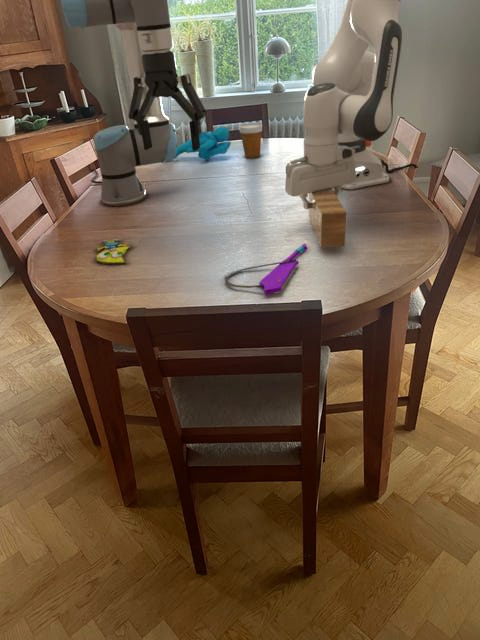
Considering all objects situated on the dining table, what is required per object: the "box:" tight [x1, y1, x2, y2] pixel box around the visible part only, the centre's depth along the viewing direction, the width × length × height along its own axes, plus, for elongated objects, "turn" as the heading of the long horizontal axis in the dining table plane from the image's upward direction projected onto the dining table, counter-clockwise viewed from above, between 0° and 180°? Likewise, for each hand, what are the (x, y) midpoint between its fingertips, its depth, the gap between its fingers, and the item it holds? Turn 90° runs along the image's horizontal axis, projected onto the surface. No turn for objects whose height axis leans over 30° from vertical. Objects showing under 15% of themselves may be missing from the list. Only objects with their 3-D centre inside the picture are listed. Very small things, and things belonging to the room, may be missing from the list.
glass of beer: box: [239, 123, 263, 159], centre depth 199 cm, size 10×10×12 cm
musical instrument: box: [224, 243, 308, 296], centre depth 113 cm, size 24×2×20 cm
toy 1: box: [95, 238, 133, 265], centre depth 129 cm, size 10×1×15 cm
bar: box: [308, 188, 347, 248], centre depth 125 cm, size 23×6×9 cm, turn 1°
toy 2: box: [173, 126, 232, 161], centre depth 202 cm, size 17×11×30 cm
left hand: (172, 149), depth 120 cm, fingers open, 13 cm apart
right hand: (320, 205), depth 132 cm, fingers closed on bar, 7 cm apart
